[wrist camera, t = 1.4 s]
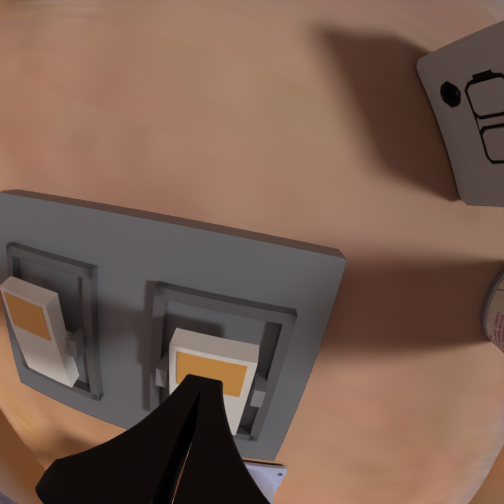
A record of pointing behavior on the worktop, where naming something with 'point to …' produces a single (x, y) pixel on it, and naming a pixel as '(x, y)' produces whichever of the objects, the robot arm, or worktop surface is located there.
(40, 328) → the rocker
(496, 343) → the aerosol can
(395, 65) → the worktop surface
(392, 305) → the worktop surface
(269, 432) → the breaker panel
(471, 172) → the electrical switch
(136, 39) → the worktop surface
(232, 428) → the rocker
